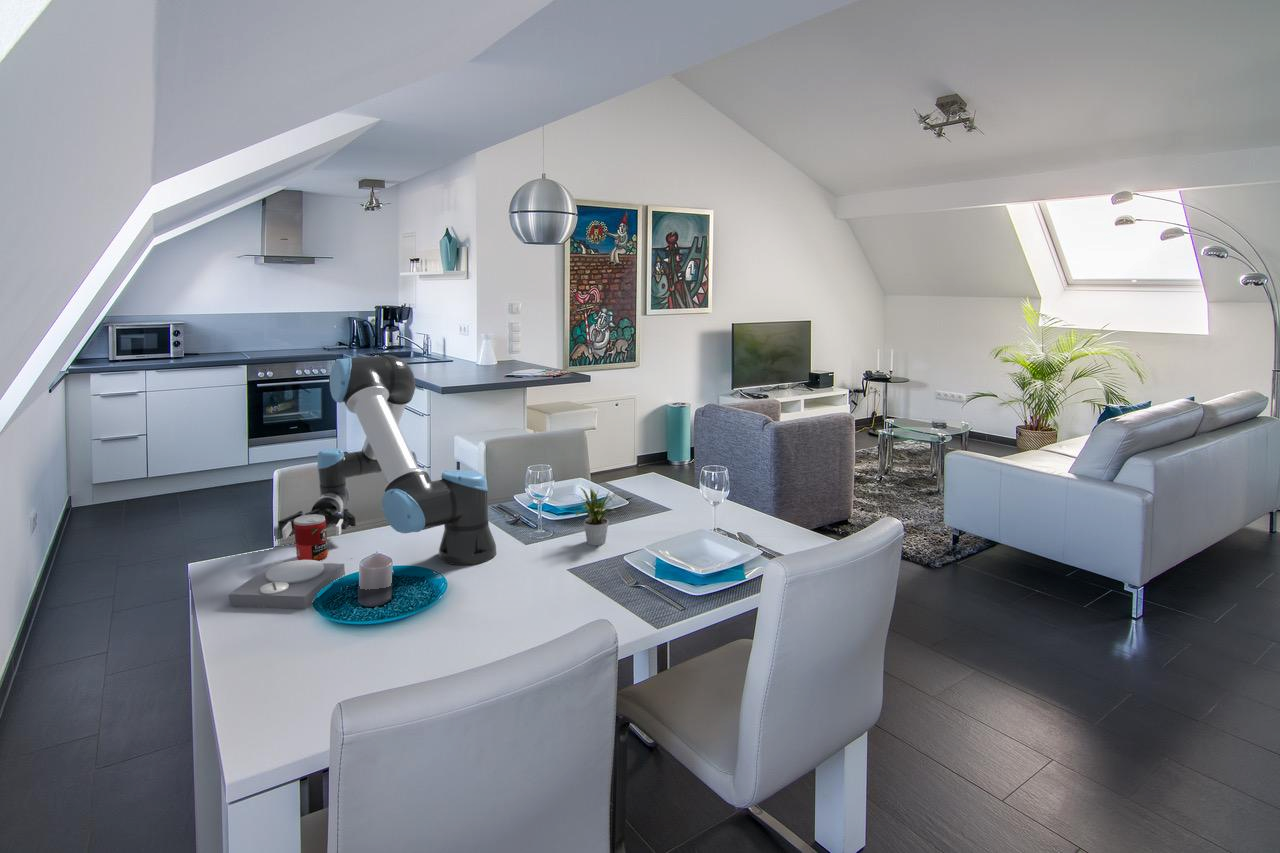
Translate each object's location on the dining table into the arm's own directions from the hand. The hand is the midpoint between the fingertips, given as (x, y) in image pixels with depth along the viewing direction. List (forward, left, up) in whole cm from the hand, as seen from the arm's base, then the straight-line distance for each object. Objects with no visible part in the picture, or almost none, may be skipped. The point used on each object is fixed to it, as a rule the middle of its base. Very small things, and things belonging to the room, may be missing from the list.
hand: (310, 532), depth 208 cm
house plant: (-74, -16, -7) cm, 76 cm away
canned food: (-1, +2, -7) cm, 7 cm away
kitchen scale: (-6, +23, -6) cm, 25 cm away
